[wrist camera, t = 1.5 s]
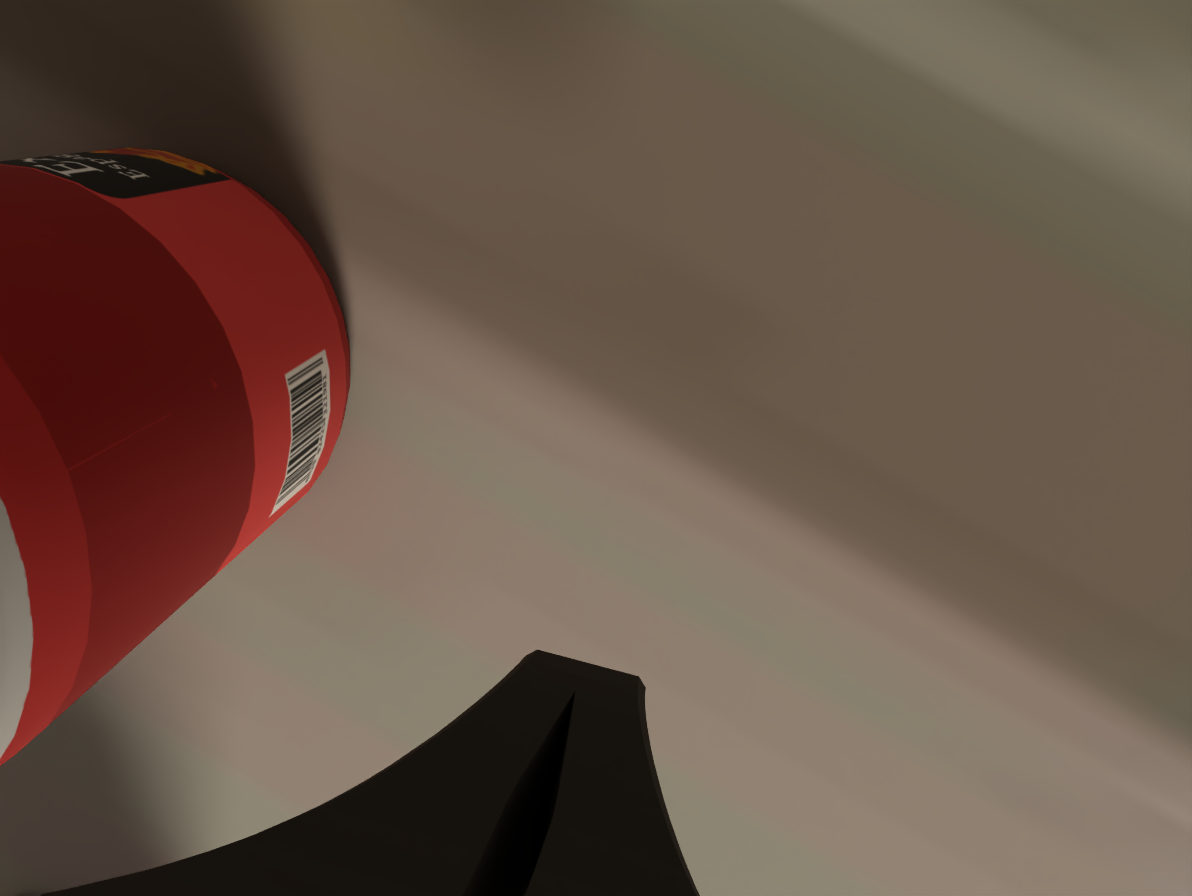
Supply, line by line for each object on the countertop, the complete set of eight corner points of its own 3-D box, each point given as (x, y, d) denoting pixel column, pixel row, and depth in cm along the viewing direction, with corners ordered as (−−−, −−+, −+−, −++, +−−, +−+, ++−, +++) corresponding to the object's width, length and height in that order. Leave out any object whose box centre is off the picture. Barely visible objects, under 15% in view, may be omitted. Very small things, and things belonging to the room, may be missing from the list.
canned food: (226, 70, 20) (-344, 71, 10) (436, 435, 22) (134, 752, 12) (-57, 252, 23) (-756, 405, 12) (155, 570, 24) (-304, 935, 14)
